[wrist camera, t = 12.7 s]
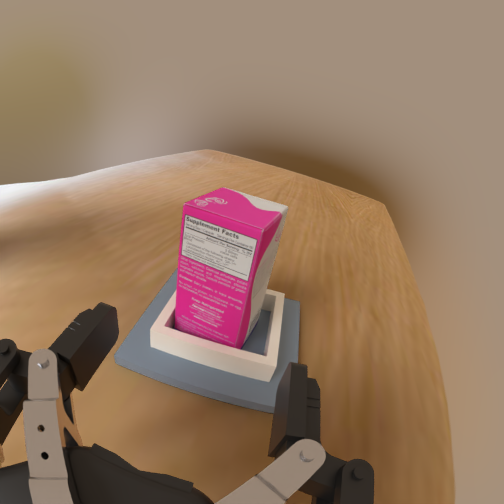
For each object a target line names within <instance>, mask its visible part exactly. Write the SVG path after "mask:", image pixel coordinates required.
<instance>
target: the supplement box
mask: <svg viewBox="0 0 504 504" xmlns="http://www.w3.org/2000/svg"><path fill="white" fill-rule="evenodd" d="M287 211H288V207H287V206H285V205H282V204H279V203H275V202H272V201H268V200H265V199H261V198H258V197H255V196H252V195H248V194H245V193H242V192H239V191H235V190H232V189H229V188H225V187H222V188H220V189H217V190H215V191H213V192H210V193H208V194H205V195H203V196H200V197H198V198H196V199H193V200H191V201H188V202H186V203H184V205H183V215H182V225H181V235H180V247H179V258H178V272H177V289H176V307H175V330H177V331H180V332H183V333H186V334H189V335H193V336H196V337H199V338H202V339H205V340H209V341H212V342H215V343H219V344H222V345H226V346H229V347H233V348H236V349H240V350H241V349H242V347H243V346H244V344H245V343H246V341H247V340H248V338H249V336H250V335H251V333H252V332H253V330H254V328H255V326H256V325H257V323H258V320H259V316H260V312H261V308H262V304H263V301H264V297H265V293H266V290H267V286H268V283H269V279H270V275H271V272H272V268H273V264H274V261H275V257H276V253H277V250H278V246H279V242H280V238H281V234H282V231H283V227H284V223H285V219H286V215H287Z"/></svg>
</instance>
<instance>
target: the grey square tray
mask: <svg viewBox="0 0 504 504" xmlns="http://www.w3.org/2000/svg"><path fill="white" fill-rule="evenodd" d="M177 272H178V268H177V269H176V270H175V272H174V273H173V274H172V276H171V277H170V278H169V280H168V281H167V282H166V284H165V285H164V286H163V288H162V289H161V290H160V292H159V293H158V294H157V296H156V297H155V298H154V300H153V301H152V302H151V304H150V305H149V307H148V308H147V309H146V311H145V312H144V313H143V315H142V316H141V318H140V319H139V320H138V322H137V323H136V325H135V326H134V327H133V329H132V330H131V332H130V333H129V335H128V336H127V337H126V339H125V340H124V342H123V343H122V345H121V346H120V347H119V349H118V350H117V352H116V353H115V355H114V358H115V363H116V364H118V365H121V366H123V367H125V368H128V369H130V370H132V371H135V372H137V373H140V374H142V375H145V376H147V377H150V378H152V379H155V380H158V381H160V382H163V383H166V384H169V385H171V386H174V387H177V388H180V389H183V390H186V391H189V392H192V393H195V394H199V395H202V396H205V397H208V398H212V399H215V400H219V401H222V402H226V403H230V404H234V405H238V406H241V407H246V408H250V409H254V410H258V411H263V412H268V413H273V414H274V408H275V400H276V392H277V388H278V385H279V382H280V380H281V378H282V376H283V374H284V372H285V370H286V368H287V366H288V364H289V362H294V363H298V349H299V322H300V302H299V301H295V300H291V299H287V298H284V295H285V293H281V292H277V291H273V290H270V289H267V290H266V293H265V297H264V301H263V304H262V308H261V312H260V316H259V320H258V323H257V325H256V326H255V328H254V330H253V332H252V333H251V335H250V336H249V338H248V340H247V341H246V343H245V344H244V346H243V347H242V349H241V350H240V349H236V348H233V347H229V346H226V345H222V344H219V343H215V342H212V341H209V340H205V339H202V338H199V337H196V336H193V335H189V334H186V333H183V332H180V331H177V330H175V307H176V289H177Z"/></svg>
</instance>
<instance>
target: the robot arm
mask: <svg viewBox="0 0 504 504" xmlns="http://www.w3.org/2000/svg"><path fill="white" fill-rule="evenodd" d="M118 335H119V328H118V319H117V310H116V308H115V307H112V306H110V305H107V304H105V303H102V302H100V303H99V304H98V305H97V306H96V307H95V308H94V309H93V310H91V309H87V310H86V311H84V312H82V313H80V314H79V315H78V316H77V317H76V318H75V319H74V320H73V322H72V323H71V324H70V325H69V326H68V328H66V329H65V330H64V331H63V333H62V334H61V335H60V336H59V337H58V338H57V339H56V341H55V342H54V343H53V344H52V345H51V346H50V347H49V348H48V349H39V350H36V351H35V352H33V353H30V352H26V351H22V350H19V349H18V348H17V346H16V344H15V343H14V341H12V340H10V339H2V340H0V388H1V387H2V385H3V384H4V382H5V381H6V379H7V382H6V383H5V384H4V386H3V387H2V389H1V390H0V504H214V503H213V502H212V501H211V500H210V499H209V498H208V497H207V496H206V495H205V494H204V493H202V492H201V491H199V490H197V489H196V488H194V487H193V483H192V482H189V481H186V480H182V479H179V478H176V477H173V476H170V475H166V474H158V473H151V472H145V471H140V470H138V469H136V468H135V467H133V466H132V465H130V464H129V463H128V462H126V461H125V460H124V459H122V458H121V457H120V456H118V455H117V454H115V453H113V452H111V451H109V450H107V449H105V448H103V447H101V446H99V445H97V444H95V443H94V444H93V446H92V447H86V446H83V443H82V440H81V437H80V435H79V432H78V429H77V424H76V418H75V412H74V405H73V398H72V393H71V392H72V391H73V389H74V388H77V389H78V390H80V391H83V390H84V388H85V386H86V385H87V383H88V382H89V380H90V379H91V378H92V376H93V375H94V373H95V372H96V370H97V369H98V367H99V366H100V364H101V363H102V361H103V360H104V358H105V357H106V356H107V354H108V353H109V351H110V350H111V348H112V347H113V346H114V344H115V343H116V341H117V338H118ZM22 410H23V417H24V432H25V443H26V451H27V459H28V461H25V462H22V463H18V464H14V465H11V466H7V467H3V468H2V467H1V463H3V462H4V455H3V449H2V445H3V443H4V441H5V439H6V437H7V435H8V434H9V432H10V430H11V428H12V426H13V425H14V423H15V421H16V420H17V418H18V416H19V415H20V413H21V411H22ZM268 456H269V457H275V460H274V462H273V463H271V464H270V465H269V466H268V467H266V468H265V469H264V470H263V471H261V472H260V473H259V474H257V475H255V476H254V477H252V478H251V479H249V480H248V481H247V482H245V483H244V484H243V485H241V486H240V487H238V488H237V489H236V490H234V491H233V492H231V493H230V494H228V495H227V496H225V497H224V498H222V499H221V500H219V501H218V502H216V503H215V504H284V503H285V502H286V501H287V499H288V498H289V497H290V496H291V495H292V494H293V493H294V492H296V491H297V490H299V491H301V492H304V493H306V494H309V495H312V502H311V504H374V471H373V468H372V466H371V465H370V464H369V463H368V462H367V461H365V460H362V459H353V460H351V461H349V462H346V461H344V460H341V459H339V458H336V457H333V456H331V455H330V454H328V453H327V452H326V451H325V450H324V448H323V447H322V445H321V441H320V388H319V386H318V384H317V381H316V379H312V378H307V365H303V364H298V363H294V362H289V364H288V366H287V368H286V370H285V372H284V374H283V376H282V378H281V380H280V382H279V385H278V388H277V392H276V400H275V408H274V416H273V423H272V431H271V438H270V445H269V452H268Z"/></svg>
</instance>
